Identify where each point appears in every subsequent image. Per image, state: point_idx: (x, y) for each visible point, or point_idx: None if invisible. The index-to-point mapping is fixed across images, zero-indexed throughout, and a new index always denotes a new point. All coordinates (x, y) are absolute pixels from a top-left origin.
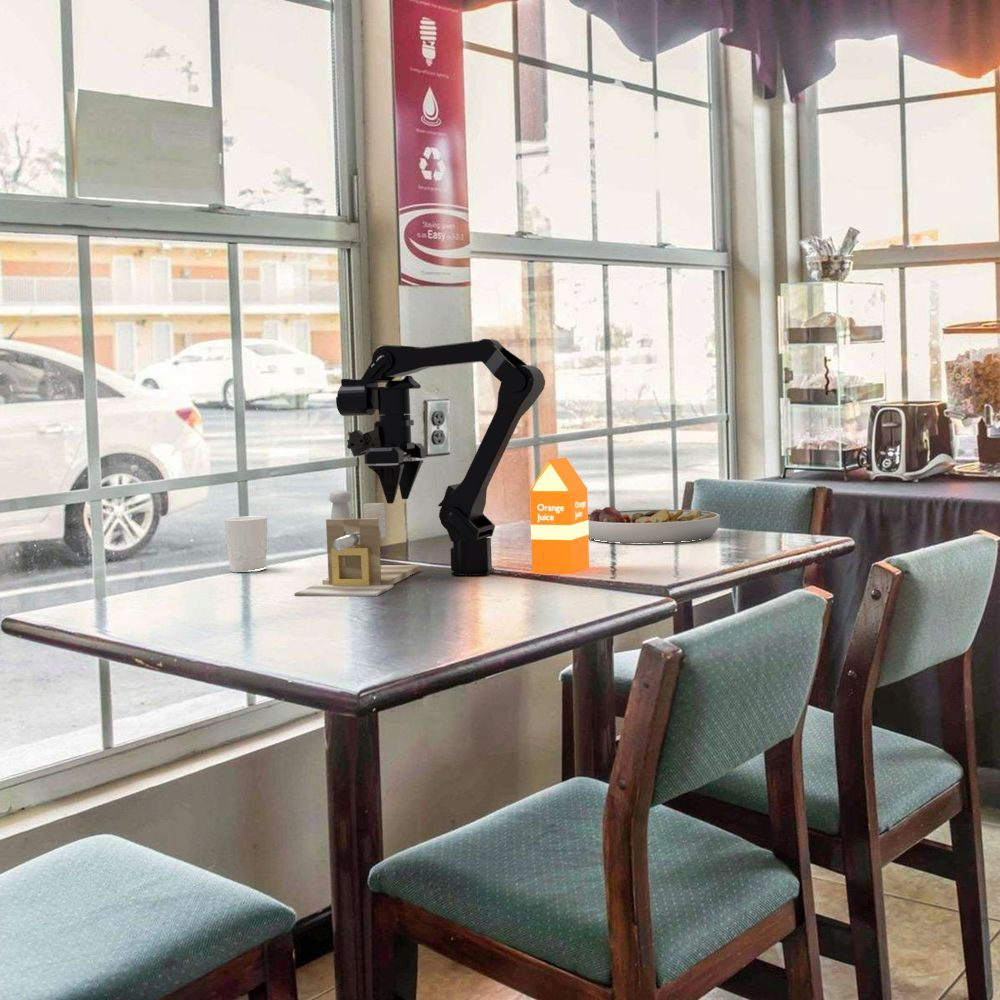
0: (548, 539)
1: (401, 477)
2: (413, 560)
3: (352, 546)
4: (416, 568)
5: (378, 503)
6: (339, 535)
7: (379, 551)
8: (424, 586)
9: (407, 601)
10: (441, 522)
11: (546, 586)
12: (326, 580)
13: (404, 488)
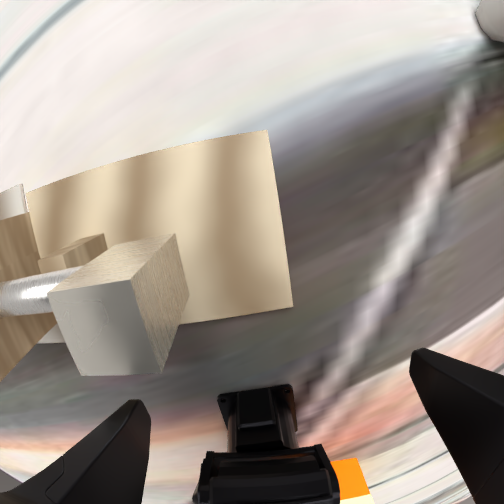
0: None
1: (488, 422)
2: (451, 202)
3: (500, 40)
4: (263, 310)
5: (124, 352)
6: None
7: (28, 349)
8: (97, 384)
9: (8, 388)
10: (219, 469)
11: (169, 492)
12: (27, 202)
13: (440, 396)
